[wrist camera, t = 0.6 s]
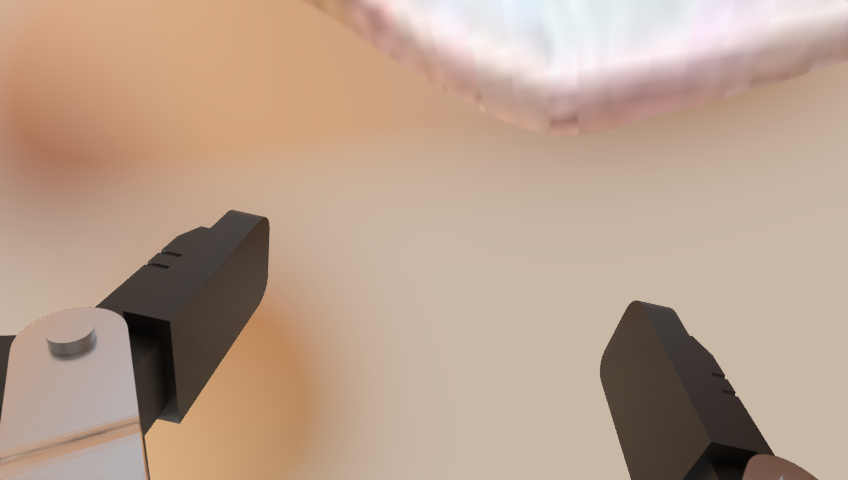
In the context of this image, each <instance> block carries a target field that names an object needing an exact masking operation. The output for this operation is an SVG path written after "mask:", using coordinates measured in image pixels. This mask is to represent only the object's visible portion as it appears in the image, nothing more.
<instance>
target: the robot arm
mask: <svg viewBox="0 0 848 480" xmlns="http://www.w3.org/2000/svg"><path fill="white" fill-rule="evenodd" d="M268 255H269V221H268V219H267V218H266V217H262V216H257V215H253V214H249V213H244V212H239V211H235V210H230V211H228V212H227V213H226V214H225V215H224V216H223V217H222V218H221V219H220V220H219V221H218V222H217V223H216V224H215V225H213V226H212V227H211V228H205V227H199V228H196V229H194V230H191V231H189V232H187V233H184V234H182V235H179V236H177V237H176V238H175V239H174V240H173V241H171V242H170V243H169V244H168V245H167V246H166V247H164V248H163V249H162V251H161V253H158V254H157V255H155V256H154V257H153V258H152V259H151V260H149V261H148V264H147V265H144V266H143V267H141V268H140V269H139V270H138V271H137V272H136V273H134V274H133V275H132V276H131V277H130V278H129V279H127V280H126V281H125V282H124V283H123V284H122V285H121V286H119V287H118V288H117V289H116V290H115V291H114V292H112V293H111V294H110V295H109V296H108V297H107V298H106V299H104V300H103V301H102V302H101V303H100V304H98V305H97V306H96V307H95V308H92V307H87V308H85V307H84V308H74V309H68V310H63V311H59V312H56V313H53V314H50V315H47V316H45V317H43V318H41V319H39V320H37V321H35V322H33V323H32V324H30V325H28V326H27V327H26V328H24V329H23V330H22V331H21V332H20V333H19V334H18V335H13V336H0V480H150V474H149V466H148V459H147V451H146V444H145V437H144V436H145V434H146V433H147V432H148V430H149V429H150V428H151V426H152V425H153V423H154V422H155V421H156V419H161V420H165V421H170V422H174V423H180V422H181V421H182V419H183V418H184V416H185V414H186V413H187V412H188V410H189V408H190V407H191V406H192V404H193V403H194V401H195V400H196V398H197V397H198V395H199V394H200V392H201V391H202V389H203V388H204V386H205V385H206V383H207V382H208V380H209V379H210V377H211V376H212V374H213V373H214V371H215V370H216V368H217V367H218V365H219V364H220V362H221V361H222V359H223V358H224V356H225V355H226V353H227V352H228V350H229V349H230V347H231V346H232V344H233V343H234V341H235V340H236V338H237V337H238V335H239V334H240V332H241V331H242V329H243V328H244V326H245V325H246V323H247V322H248V320H249V319H250V318H251V316H252V314H253V313H254V312H255V310H256V309H257V307H258V305H259V304H260V302H261V300H262V298H263V295H264V292H265V289H266V285H267V278H268ZM600 378H601V382H602V386H603V389H604V392H605V395H606V399H607V402H608V405H609V408H610V411H611V415H612V418H613V422H614V425H615V428H616V431H617V434H618V438H619V441H620V444H621V448H622V451H623V454H624V457H625V461H626V464H627V467H628V471H629V474H630V477H631V480H818V479H816V478H815V477H814V476H813V475H811V474H810V473H808V472H807V471H806V470H804V469H803V468H801V467H799V466H797V465H796V464H794V463H792V462H790V461H788V460H785V459H783V458H780V457H777V456H775V455H774V453H773V452H772V450H771V449H770V447H769V446H768V444H767V442H766V441H765V439H764V437H763V436H762V434H761V433H760V431H759V429H758V428H757V426H756V425H755V423H754V422H753V420H752V418H751V416H750V415H749V413H748V412H747V410H746V408H745V407H744V405H743V404H742V402H741V400H740V399H739V397H736V396H735V393H736V392H735V391H734V389H733V387H732V386H731V384H730V383H729V381H728V380H727V379H725V375H724V373H723V372H722V370H721V368H720V367H719V365H718V363H717V362H716V360H715V358H714V357H713V355H711V354H710V353H709V352H708V351H707V350H706V349H705V348H704V347H703V346H702V345H701V344H700V343H699V342H698V341H697V340H696V339H695V338H694V337H693V336H689V334H688V333H687V331H686V329H685V328H684V326H683V324H682V322H681V321H680V319H679V317H678V316H677V314H676V312H675V311H674V310H673V309H671V308H668V307H664V306H659V305H655V304H650V303H646V302H641V301H633V302H632V303H631V304H630V305H629V306H628V307H627V309H626V311H625V313H624V315H623V316H622V318H621V320H620V322H619V324H618V326H617V328H616V330H615V332H614V334H613V336H612V338H611V339H610V341H609V343H608V345H607V347H606V349H605V351H604V353H603V356H602V360H601V365H600Z"/></svg>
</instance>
